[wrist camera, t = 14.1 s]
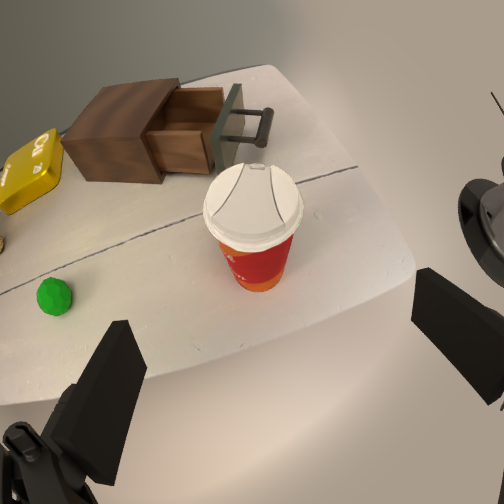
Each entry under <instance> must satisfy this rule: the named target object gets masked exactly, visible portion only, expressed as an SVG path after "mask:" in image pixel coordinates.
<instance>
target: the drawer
mask: <svg viewBox="0 0 504 504" xmlns="http://www.w3.org/2000/svg"><path fill="white" fill-rule="evenodd" d="M244 115H256V116H261V119H260V123H259V127H258V130H257V134H256V138H255V137H242V136H241V135H242V132H243V129H244V126H245V116H244ZM273 116H274V110H273V109H271V108H265V109H263V111H261V110H245V109H244V105H243V94H242V84H233V86H232V88H231V90H230V92H229V95H228V97H227V99H226V101H225V99H224V92H223V87H210V88H178V89H174V91H173V92H172V94H171V95H170V96H169V98H168V99H167V101H166V102H165V104H164V105H163V107H162V108H161V110H160V112H159V113H158V115H157V116H156V118H155V119H154V121H153V123H152V124H151V126H150V127H149V129H148V131H147V132H146V134H145V138H146V141H147V143H148V145H149V148H150V150H151V152H152V155H153V157H154V159H155V162H156V164H157V166H158V168H159V171H168V172H187V173H202V174H210V172H211V169H212V166H213V163H214V162H215V167H216V171H217V176H218V175H219V174H220V173H221V172H223V171H224V170H226V169H228V168H230V167H232V164H233V161H234V157H235V154H236V151H237V148H238V145H239V142H240V143H253V144H255V145H256V146H257V147H259V148H264V147H266V146H267V143H268V138H269V134H270V129H271V125H272V120H273Z"/></svg>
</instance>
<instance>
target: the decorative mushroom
mask: <svg viewBox="0 0 504 504" xmlns="http://www.w3.org/2000/svg"><path fill="white" fill-rule="evenodd" d="M2 248H3V239H2V237H1V236H0V252H1V251H2Z"/></svg>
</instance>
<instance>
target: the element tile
mask: <svg viewBox="0 0 504 504" xmlns="http://www.w3.org/2000/svg"><path fill="white" fill-rule="evenodd" d="M61 139H62V138H61V136H60V135H59V133H58V132H57V130H56V129H51V130H49V131H47V132H45V133H44V134H42V135H40V136H39V137H37V138H36V139H34V140H32V141H31V142H29V143H28V144H26V145H25V146H23V147H22V148H20V149H19V150H18V151H16V152H15V153H13V154H12V155H11V156H9V157H8V159H7V161H6V163H5V166H4V169H3V173H2V176H1V180H0V209H2V210H3V211H4V212H5V213H6V214H7V215H11V214H13V213H14V212H16V211H17V210H19V209H20V208H22V207H24V206H25V205H27V204H28V203H30V202H32V201H33V200H35V199H37V198H38V197H40V196H42V195H43V194H45V193H47V192H49V191H50V190H52V189H53V188H54V187H55V186H56V185H57V184H58V182H59V179H60V172H61V163H62V155H63V146H62V144H61V143H60V141H61Z"/></svg>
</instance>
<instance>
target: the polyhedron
mask: <svg viewBox="0 0 504 504" xmlns="http://www.w3.org/2000/svg"><path fill="white" fill-rule="evenodd" d="M37 302H38V304H39V306H40V308H41V309H42V310H43V312H44V313H47V314H49V315H54V316H59V315H61V314H63V313H65V312H66V311H67V310H68V308H69V306H70V304H71V291H70V290H69V288H68V286H67V285H66V284H65V282H64V281H63V280H59V279H56V278H52V277H50V278H48V279H45V280H44V281H43V282H42V283H41V285H40V287H39V289H38V291H37Z"/></svg>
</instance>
